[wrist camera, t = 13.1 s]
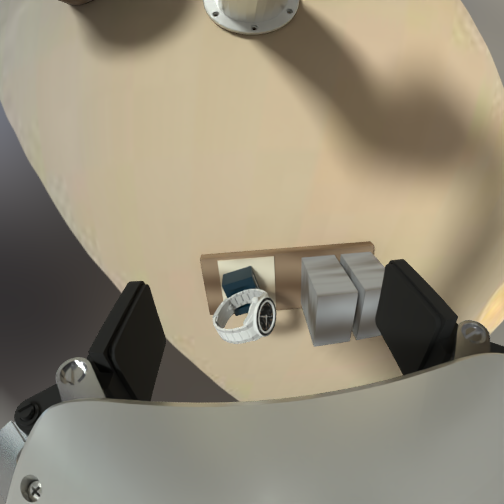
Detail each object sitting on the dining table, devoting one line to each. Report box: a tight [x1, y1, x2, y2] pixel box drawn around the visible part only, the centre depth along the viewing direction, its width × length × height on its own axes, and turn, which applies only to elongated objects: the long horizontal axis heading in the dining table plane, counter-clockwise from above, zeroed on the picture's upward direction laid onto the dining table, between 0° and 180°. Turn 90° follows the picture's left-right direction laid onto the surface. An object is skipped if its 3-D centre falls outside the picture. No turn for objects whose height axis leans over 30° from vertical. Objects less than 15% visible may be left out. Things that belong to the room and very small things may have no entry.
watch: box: [213, 266, 276, 344], centre depth 36 cm, size 6×8×11 cm
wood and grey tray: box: [200, 242, 385, 346], centre depth 38 cm, size 10×26×12 cm, turn 94°
